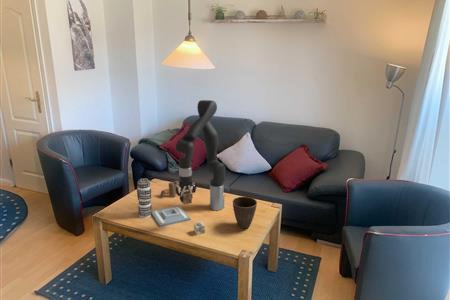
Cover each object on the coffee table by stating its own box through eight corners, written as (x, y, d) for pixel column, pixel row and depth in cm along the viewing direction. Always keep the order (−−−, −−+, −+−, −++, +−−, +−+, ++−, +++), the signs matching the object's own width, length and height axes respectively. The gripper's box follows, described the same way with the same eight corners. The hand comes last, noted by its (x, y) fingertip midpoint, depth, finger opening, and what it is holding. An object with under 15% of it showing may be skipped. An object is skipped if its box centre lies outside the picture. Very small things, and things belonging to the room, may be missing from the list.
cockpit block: (201, 229, 201) (201, 220, 200) (204, 233, 197) (205, 224, 196) (193, 231, 199) (193, 222, 198) (197, 235, 195) (197, 226, 193)
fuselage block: (188, 199, 204) (188, 190, 203) (191, 202, 200) (191, 193, 198) (180, 201, 202) (180, 192, 200) (183, 204, 198) (183, 195, 196)
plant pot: (254, 232, 199) (256, 208, 194) (230, 230, 201) (230, 206, 196) (256, 220, 213) (257, 197, 208) (233, 218, 215) (234, 195, 210)
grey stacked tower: (135, 215, 217) (132, 180, 209) (145, 210, 224) (143, 175, 217) (144, 219, 212) (143, 183, 204) (155, 214, 219) (153, 179, 212)
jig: (179, 207, 229) (179, 202, 228) (190, 219, 212) (190, 215, 211) (151, 213, 220) (150, 208, 219) (160, 226, 203) (160, 222, 202)
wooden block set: (174, 189, 258) (173, 177, 255) (183, 190, 254) (182, 178, 251) (159, 198, 243) (158, 185, 240) (169, 200, 239) (168, 186, 236)
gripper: (194, 170, 202) (194, 195, 207) (171, 173, 196) (172, 200, 201) (199, 174, 196) (199, 200, 201) (176, 178, 189) (177, 205, 194)
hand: (186, 200), depth 201 cm, fingers closed on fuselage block, 5 cm apart
